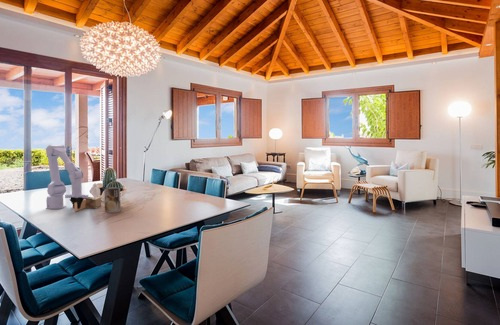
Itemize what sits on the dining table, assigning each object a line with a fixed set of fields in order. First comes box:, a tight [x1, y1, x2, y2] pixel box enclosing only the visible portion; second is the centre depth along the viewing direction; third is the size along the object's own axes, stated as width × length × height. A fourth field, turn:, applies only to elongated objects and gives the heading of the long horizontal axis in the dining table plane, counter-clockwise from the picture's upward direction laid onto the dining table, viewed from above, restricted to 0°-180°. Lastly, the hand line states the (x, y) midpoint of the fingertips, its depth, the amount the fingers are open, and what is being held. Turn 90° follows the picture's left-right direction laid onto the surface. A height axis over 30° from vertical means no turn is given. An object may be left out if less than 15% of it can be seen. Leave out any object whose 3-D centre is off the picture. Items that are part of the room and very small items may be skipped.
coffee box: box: [103, 186, 122, 214], centre depth 194 cm, size 9×6×16 cm
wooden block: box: [72, 196, 102, 209], centre depth 206 cm, size 16×8×7 cm, turn 91°
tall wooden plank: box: [73, 199, 87, 212], centre depth 198 cm, size 2×12×6 cm, turn 1°
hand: (77, 208), depth 194 cm, fingers closed on tall wooden plank, 2 cm apart
